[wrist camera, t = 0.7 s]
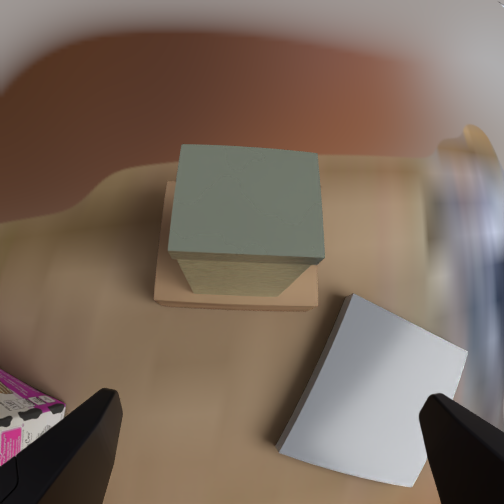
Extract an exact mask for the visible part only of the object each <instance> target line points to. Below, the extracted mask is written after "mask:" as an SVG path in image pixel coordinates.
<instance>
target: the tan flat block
mask: <svg viewBox="0 0 504 504" xmlns="http://www.w3.org/2000/svg"><path fill="white" fill-rule="evenodd" d="M175 185H176V181H167V186H166V192H165V199H164V206H163V214H162V221H161V229H160V238H159V247H158V256H157V266H156V277H155V289H154V300H155V301H156V302H158V303H159V304H160V305H162V306H169V307H185V308H203V309H225V310H253V311H308V310H310V309H313V308H315V307H317V306H318V276H317V265H311V266H310V267H309V268H308V269H307V270H306V271H304V272H303V273H302V274H301V275H300V276H299V277H298V278H297V279H296V280H295V281H294V282H293V283H292V284H291V285H290V286H289V287H288V288H286V289H285V290H284V291H283V292H282V293H281V294H280V295H279V296H278V297H262V296H234V295H211V294H194V293H193V291H192V289H191V287H190V285H189V283H188V281H187V279H186V277H185V275H184V273H183V271H182V269H181V267H180V265H179V263H178V261H177V259H172V258H171V256H170V254H169V252H168V243H169V234H170V225H171V216H172V208H173V200H174V193H175Z"/></svg>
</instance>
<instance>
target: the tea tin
mask: <svg viewBox="0 0 504 504" xmlns="http://www.w3.org/2000/svg"><path fill="white" fill-rule="evenodd" d="M168 252H169V254H170V256H171V258H172V259H177V261H178V263H179V265H180V267H181V269H182V271H183V273H184V275H185V277H186V279H187V281H188V283H189V285H190V287H191V289H192V291H193V293H194V294H211V295H234V296H262V297H278V296H279V295H280V294H281V293H282V292H283V291H284V290H285V289H286V288H288V287H289V286H290V285H291V284H292V283H293V282H294V281H295V280H296V279H297V278H298V277H299V276H300V275H301V274H302V273H303V272H304V271H306V270H307V269H308V268H309V267H310V266H311V265H317V264H319V263H320V262H321V261H322V260H323V259H324V258H325V250H324V231H323V215H322V201H321V189H320V177H319V166H318V155H317V153H310V152H300V151H291V150H280V149H268V148H255V147H239V146H220V145H186V144H182V146H181V152H180V158H179V165H178V171H177V178H176V185H175V193H174V200H173V208H172V216H171V225H170V234H169V243H168Z"/></svg>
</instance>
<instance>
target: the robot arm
mask: <svg viewBox="0 0 504 504" xmlns="http://www.w3.org/2000/svg"><path fill="white" fill-rule="evenodd" d="M122 416H123V411H122V406H121V402H120V398H119V394H118V392H117V391H116V390H113V389H108V388H102V389H100V390H99V391H98V392H96V393H95V394H94V395H93V396H91V397H90V398H89V399H88V400H86V401H85V402H84V403H82V404H81V405H80V406H79V407H77V408H76V409H75V410H73V411H72V412H71V413H70V414H68V415H67V416H66V417H64V418H63V419H62V420H61V421H59V422H58V423H57V424H55V425H54V426H53V427H51V428H50V429H49V430H48V431H46V432H45V433H44V434H42V435H41V436H40V437H38V438H37V439H36V440H35V441H33V442H32V443H31V444H29V445H28V446H27V447H25V448H24V449H23V450H21V451H20V452H19V453H18V454H16V456H13V457H12V458H11V459H9V460H8V461H7V462H6V463H4V464H3V465H1V466H0V504H102V503H103V500H104V496H105V493H106V489H107V486H108V482H109V479H110V475H111V472H112V469H113V465H114V460H115V455H116V449H117V443H118V438H119V432H120V427H121V422H122ZM419 422H420V427H421V431H422V435H423V440H424V444H425V449H426V453H427V458H428V461H429V464H430V468H431V471H432V474H433V477H434V480H435V484H436V487H437V491H438V494H439V497H440V501H441V504H504V432H503V431H501V430H499V429H498V428H496V427H495V426H493V425H491V424H490V423H488V422H487V421H485V420H483V419H482V418H480V417H479V416H477V415H476V414H474V413H472V412H471V411H469V410H468V409H466V408H465V407H463V406H461V405H460V404H458V403H457V402H455V401H454V400H452V399H450V398H449V397H447V396H446V395H444V394H443V393H436V394H431V395H430V396H429V397H428V398H427V400H426V402H425V403H424V405H423V407H422V409H421V410H420V412H419Z"/></svg>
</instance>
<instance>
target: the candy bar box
mask: <svg viewBox="0 0 504 504" xmlns="http://www.w3.org/2000/svg"><path fill="white" fill-rule="evenodd" d="M65 410H66V404H65V403H63V402H61V401H59V400H57V399H55V398H53V397H50V396H48V395H46V394H44V393H43V392H41V391H39V390H37V389H35V388H33V387H31V386H29V385H27V384H25V383H23V382H22V381H20V380H18V379H17V378H15V377H13V376H12V375H10V374H8V373H7V372H5V371H3V370H2V369H0V466H1V465H3V464H4V463H6V462H7V461H8V460H9V459H11V458H12V457H13V456H16V454H18V453H19V452H20V451H21V450H23V449H24V448H25V447H27V446H28V445H29V444H31V443H32V442H33V441H35V440H36V439H37V438H38V437H40V436H41V435H42V434H44V433H45V432H46V431H48V430H49V429H50V428H51V427H53V426H54V425H55V424H57V423H58V422H59V421H61V420H62V419H63V418H64V417H65Z"/></svg>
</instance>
